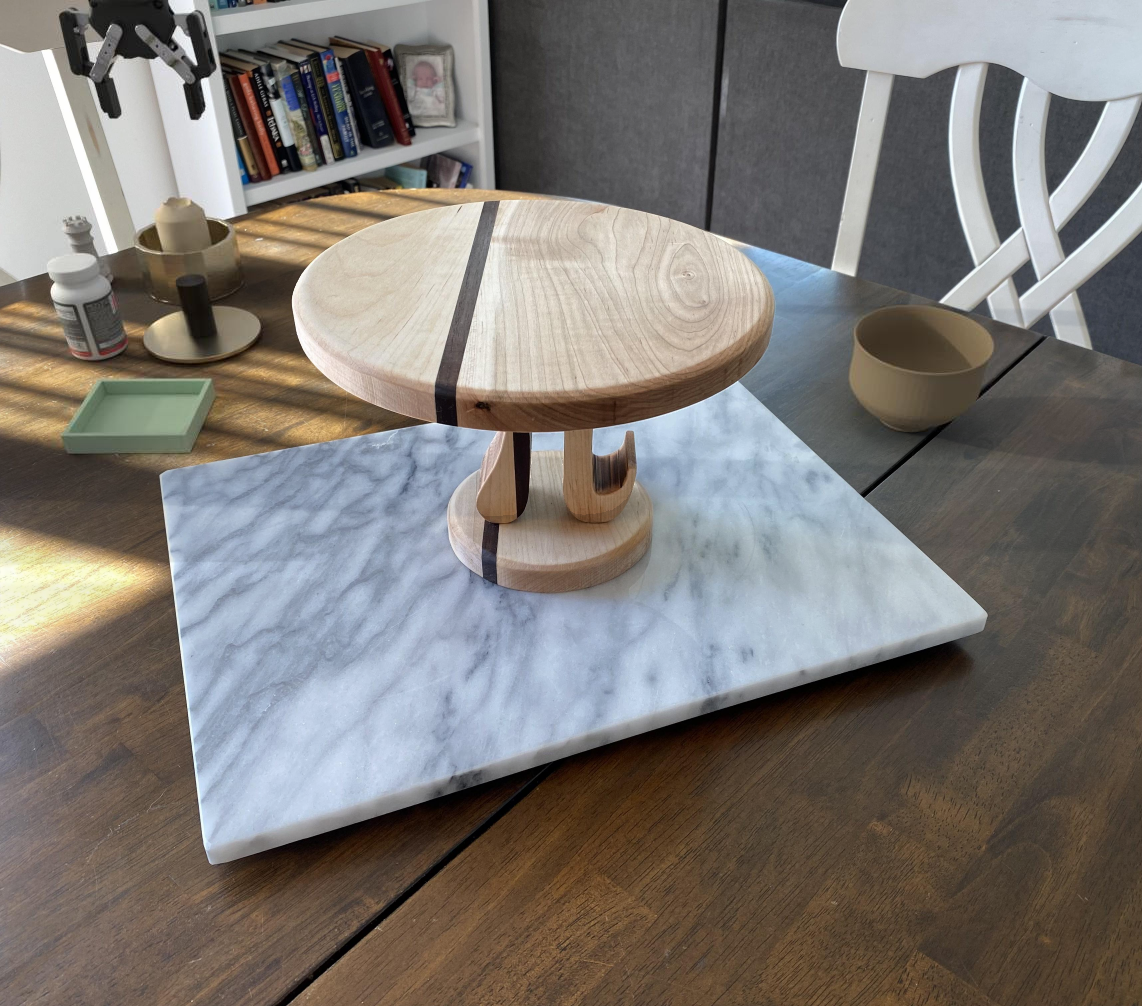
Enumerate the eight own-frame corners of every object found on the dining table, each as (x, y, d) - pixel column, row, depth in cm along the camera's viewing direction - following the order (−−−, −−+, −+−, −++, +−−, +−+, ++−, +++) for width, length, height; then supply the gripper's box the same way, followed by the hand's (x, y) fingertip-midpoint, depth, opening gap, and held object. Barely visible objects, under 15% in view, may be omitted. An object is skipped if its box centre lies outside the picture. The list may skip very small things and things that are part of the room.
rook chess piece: (107, 272, 115) (88, 209, 110) (119, 285, 112) (100, 221, 107) (69, 282, 113) (48, 217, 108) (81, 295, 110) (60, 230, 105)
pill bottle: (128, 333, 103) (103, 247, 97) (129, 357, 99) (103, 269, 93) (72, 340, 102) (42, 254, 96) (70, 366, 98) (39, 277, 91)
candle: (181, 296, 110) (161, 213, 104) (164, 279, 113) (143, 198, 107) (226, 284, 113) (209, 202, 107) (208, 268, 116) (190, 188, 110)
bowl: (809, 405, 96) (828, 316, 89) (902, 378, 100) (927, 292, 94) (895, 471, 87) (923, 378, 81) (992, 438, 92) (1026, 348, 86)
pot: (134, 305, 109) (119, 253, 105) (162, 264, 117) (149, 215, 113) (232, 305, 109) (221, 254, 105) (252, 265, 118) (243, 216, 114)
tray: (67, 453, 85) (60, 435, 84) (104, 395, 93) (98, 378, 92) (190, 453, 86) (185, 435, 85) (216, 395, 94) (212, 378, 93)
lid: (130, 368, 98) (111, 306, 93) (163, 314, 107) (148, 255, 103) (249, 368, 98) (236, 306, 94) (272, 314, 108) (261, 256, 103)
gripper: (24, -51, 88) (76, 127, 98) (179, -48, 89) (215, 129, 99) (54, -63, 94) (100, 106, 104) (199, -60, 94) (231, 108, 104)
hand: (156, 117), depth 101 cm, fingers open, 8 cm apart
